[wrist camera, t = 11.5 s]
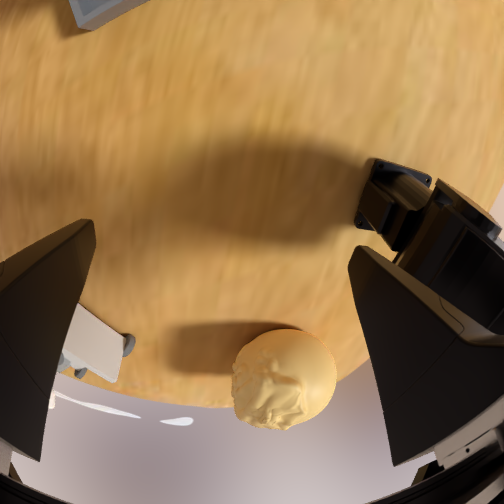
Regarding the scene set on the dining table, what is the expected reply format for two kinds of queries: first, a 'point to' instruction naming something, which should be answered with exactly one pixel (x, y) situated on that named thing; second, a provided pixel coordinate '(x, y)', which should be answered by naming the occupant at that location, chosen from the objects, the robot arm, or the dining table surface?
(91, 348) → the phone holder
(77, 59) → the dining table surface
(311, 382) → the sculpture
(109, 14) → the holder tray
